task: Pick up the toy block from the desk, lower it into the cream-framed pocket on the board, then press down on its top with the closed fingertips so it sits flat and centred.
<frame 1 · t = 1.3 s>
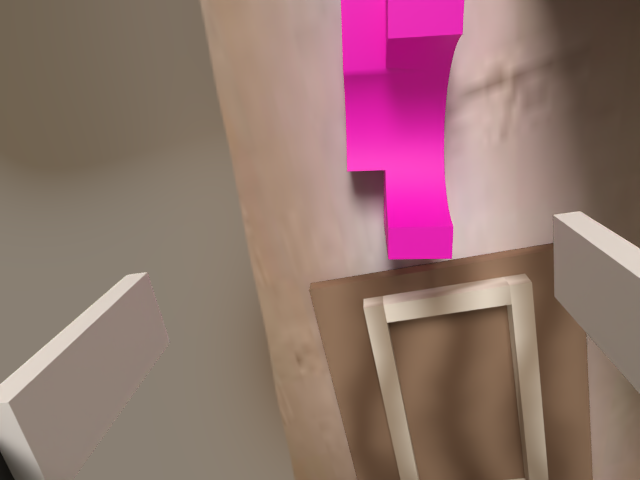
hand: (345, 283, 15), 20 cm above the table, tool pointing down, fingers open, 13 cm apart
toy block: (392, 119, 33), on the table
locating board: (456, 390, 39), on the table
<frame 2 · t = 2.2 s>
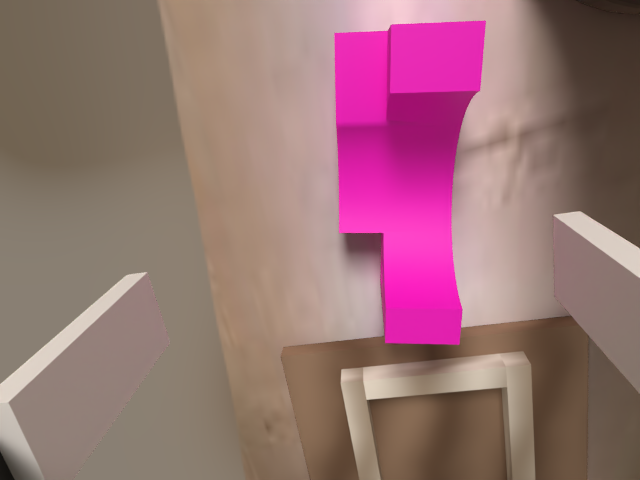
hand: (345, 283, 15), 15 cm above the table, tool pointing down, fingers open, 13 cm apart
toy block: (391, 169, 29), on the table
locating board: (441, 467, 36), on the table
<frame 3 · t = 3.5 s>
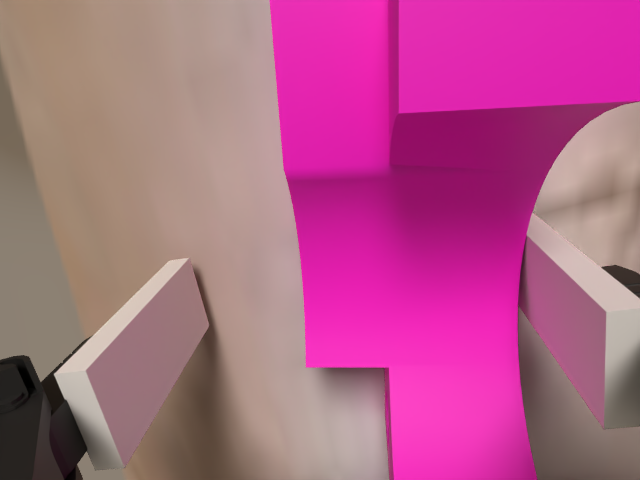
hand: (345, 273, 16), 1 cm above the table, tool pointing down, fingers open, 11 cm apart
toy block: (400, 236, 16), on the table
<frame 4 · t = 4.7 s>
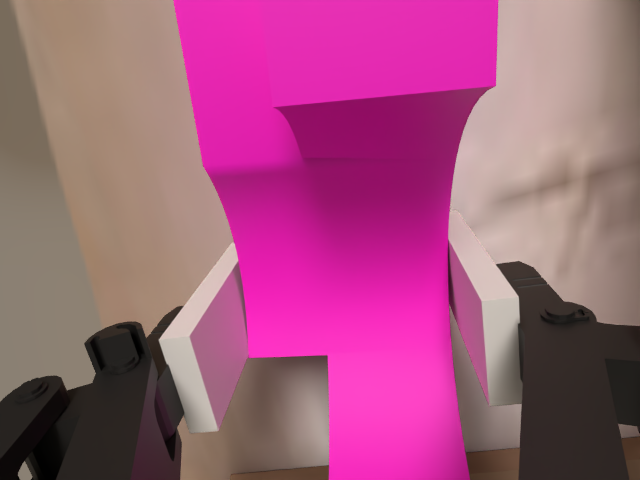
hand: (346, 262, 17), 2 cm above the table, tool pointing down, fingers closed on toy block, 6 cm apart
toy block: (344, 228, 17), point 1 cm above the table, touching gripper
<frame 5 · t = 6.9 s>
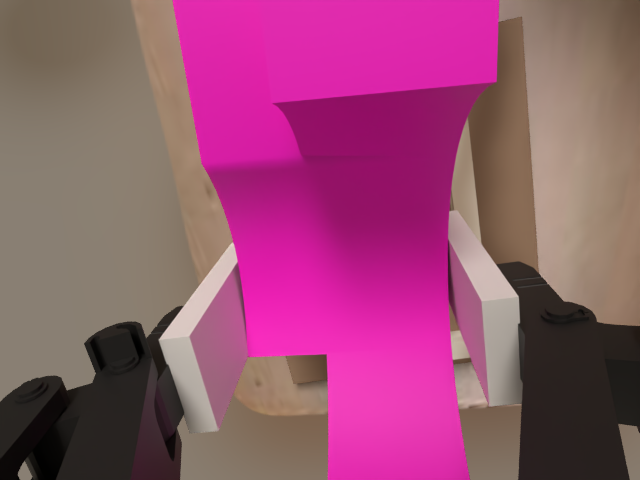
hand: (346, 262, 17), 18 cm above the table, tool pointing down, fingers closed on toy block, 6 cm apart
toy block: (344, 227, 17), point 17 cm above the table, touching gripper
locating board: (388, 225, 34), on the table
when the fingers open (4 cm above the table, at t = 9.3 s): toy block drops 2 cm, resting on locating board.
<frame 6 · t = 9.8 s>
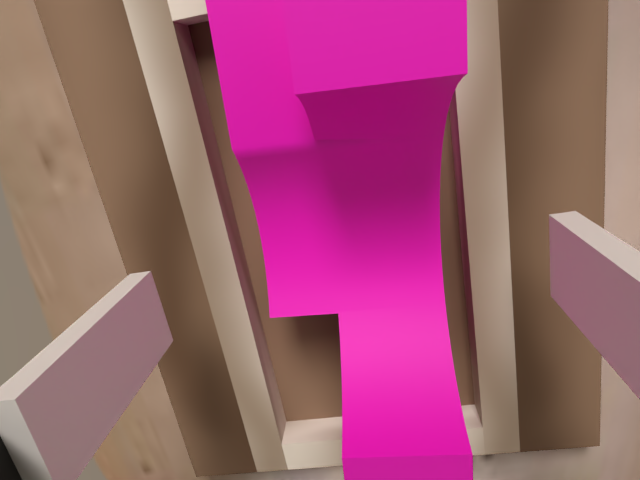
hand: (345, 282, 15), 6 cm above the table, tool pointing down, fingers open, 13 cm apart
toy block: (350, 207, 19), point 1 cm above the table, touching locating board
locating board: (348, 228, 20), on the table
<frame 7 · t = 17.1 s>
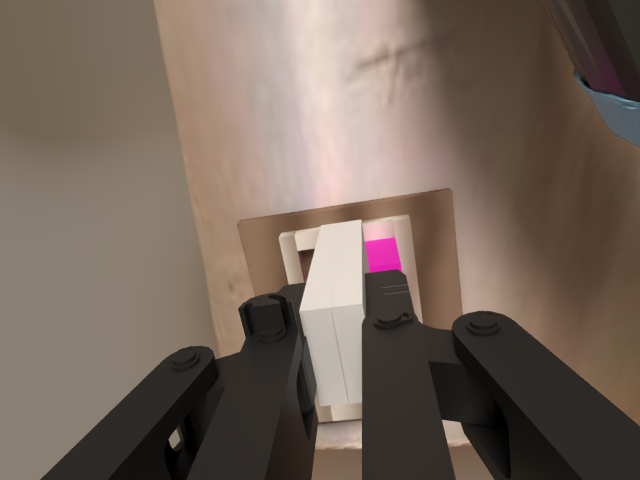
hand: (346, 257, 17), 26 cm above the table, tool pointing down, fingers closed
toy block: (371, 306, 46), point 1 cm above the table, touching locating board
locating board: (360, 316, 48), on the table
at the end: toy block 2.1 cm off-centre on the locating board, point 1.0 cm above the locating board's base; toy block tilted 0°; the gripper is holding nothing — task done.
